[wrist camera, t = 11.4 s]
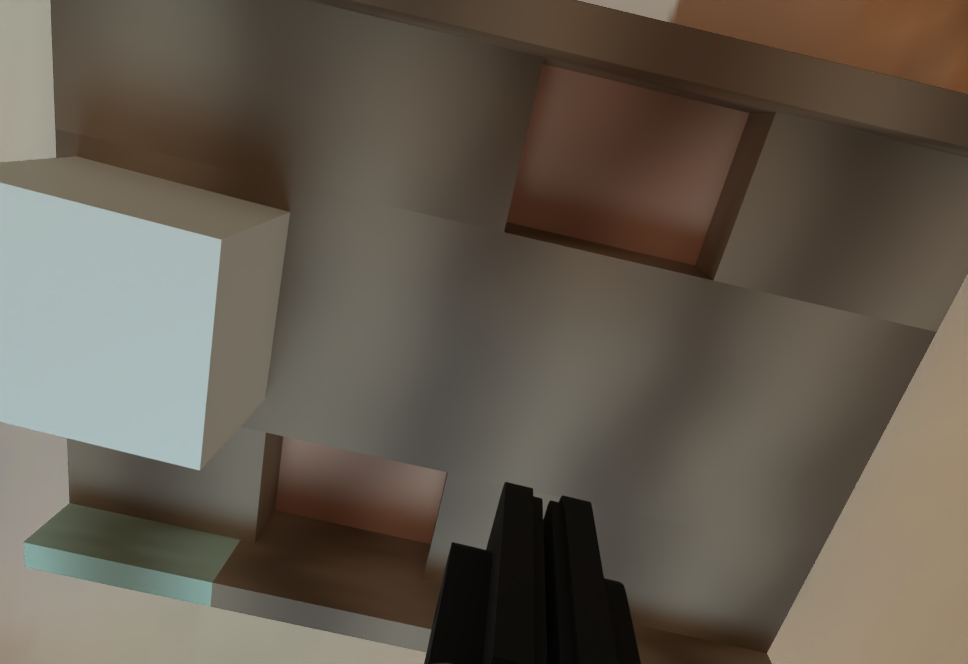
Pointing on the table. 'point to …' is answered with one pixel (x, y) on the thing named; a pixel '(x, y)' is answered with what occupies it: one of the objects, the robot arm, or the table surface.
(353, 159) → the box
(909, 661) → the table surface
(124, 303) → the pale blue block
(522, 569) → the robot arm
